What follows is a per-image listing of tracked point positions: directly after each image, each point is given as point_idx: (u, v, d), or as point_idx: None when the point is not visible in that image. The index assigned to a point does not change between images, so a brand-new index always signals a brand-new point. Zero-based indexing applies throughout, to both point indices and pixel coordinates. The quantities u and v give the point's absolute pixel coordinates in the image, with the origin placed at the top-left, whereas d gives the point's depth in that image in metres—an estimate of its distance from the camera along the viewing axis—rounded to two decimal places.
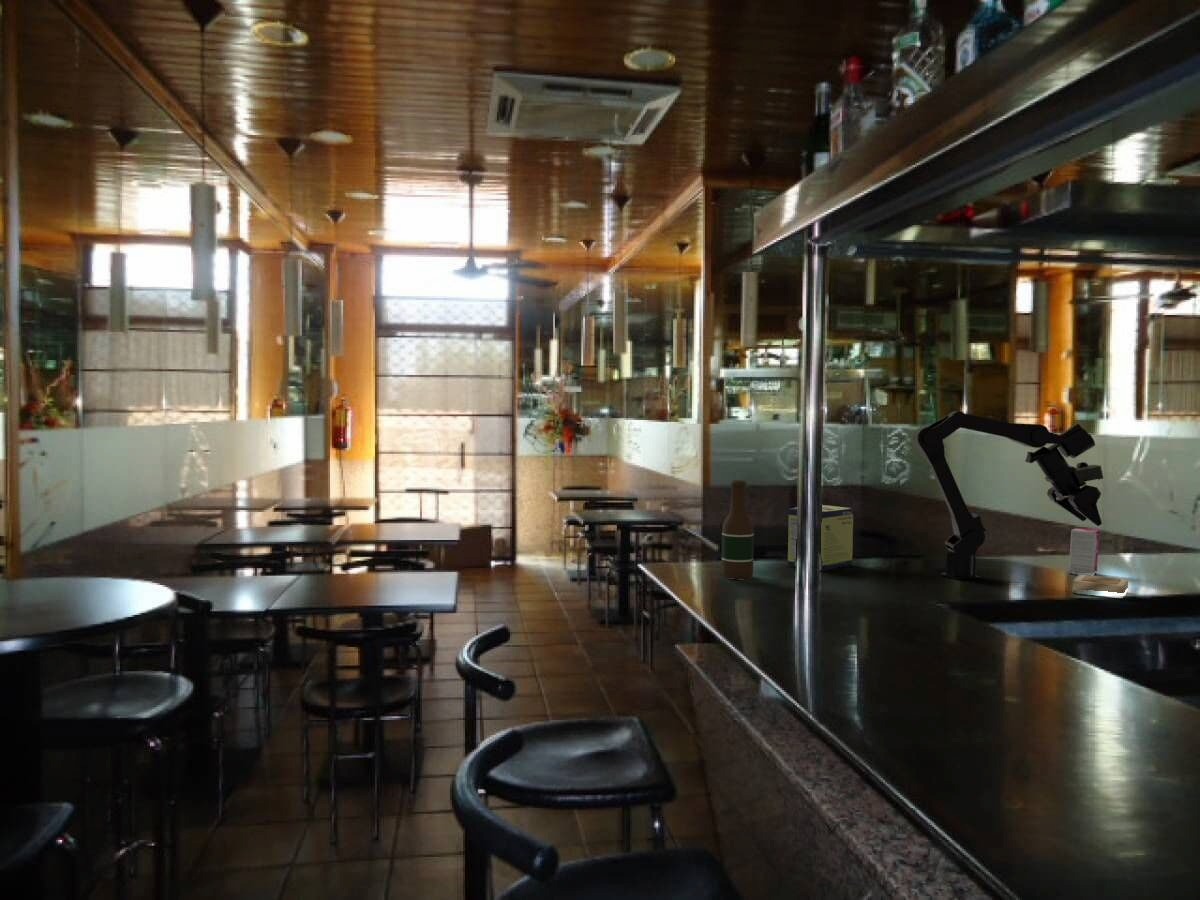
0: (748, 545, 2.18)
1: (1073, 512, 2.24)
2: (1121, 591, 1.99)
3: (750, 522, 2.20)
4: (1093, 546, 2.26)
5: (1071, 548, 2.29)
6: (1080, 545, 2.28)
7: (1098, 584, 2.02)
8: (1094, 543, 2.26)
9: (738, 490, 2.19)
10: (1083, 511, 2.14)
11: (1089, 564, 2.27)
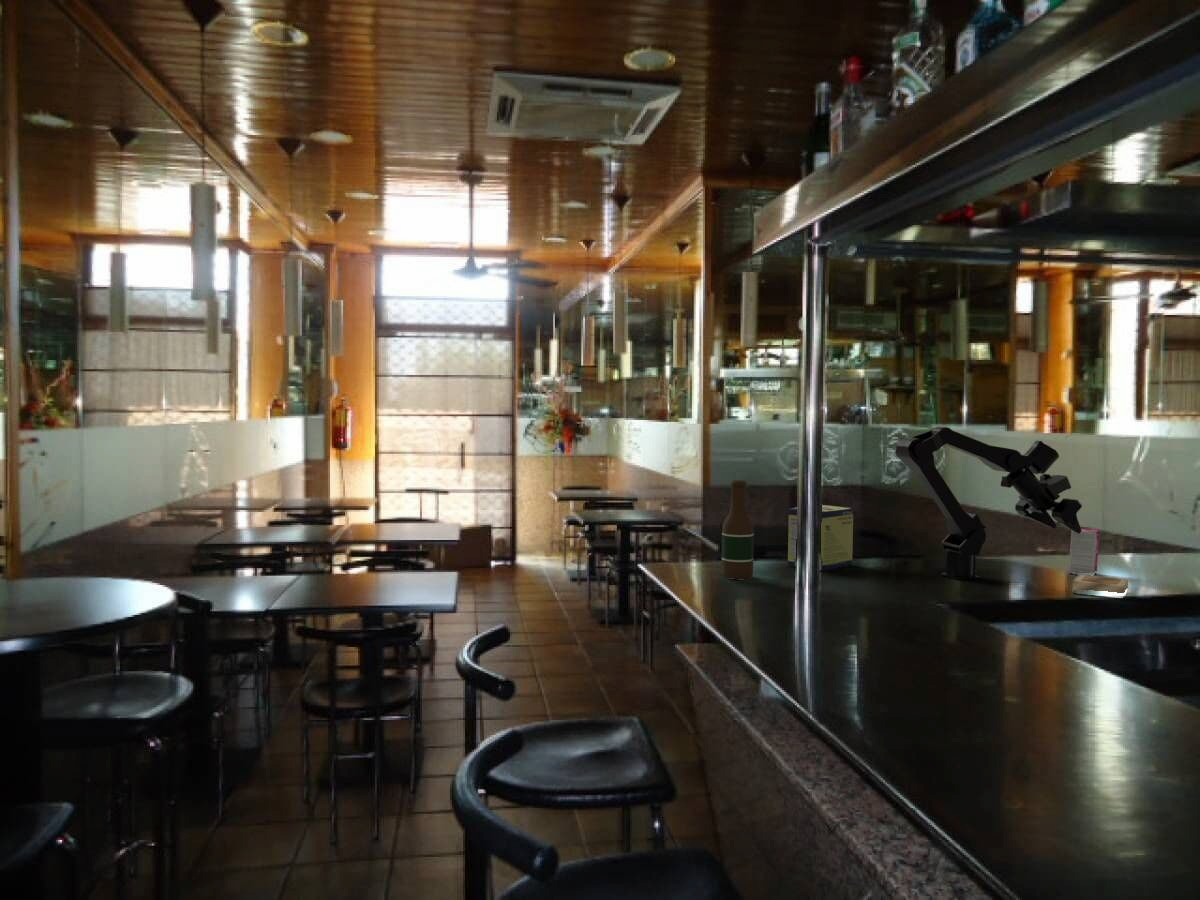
0: (748, 545, 2.18)
1: (1044, 522, 2.33)
2: (1121, 591, 1.99)
3: (750, 522, 2.20)
4: (1093, 546, 2.26)
5: (1071, 548, 2.29)
6: (1080, 545, 2.28)
7: (1098, 584, 2.02)
8: (1094, 543, 2.26)
9: (738, 490, 2.19)
10: (1067, 524, 2.22)
11: (1089, 564, 2.27)
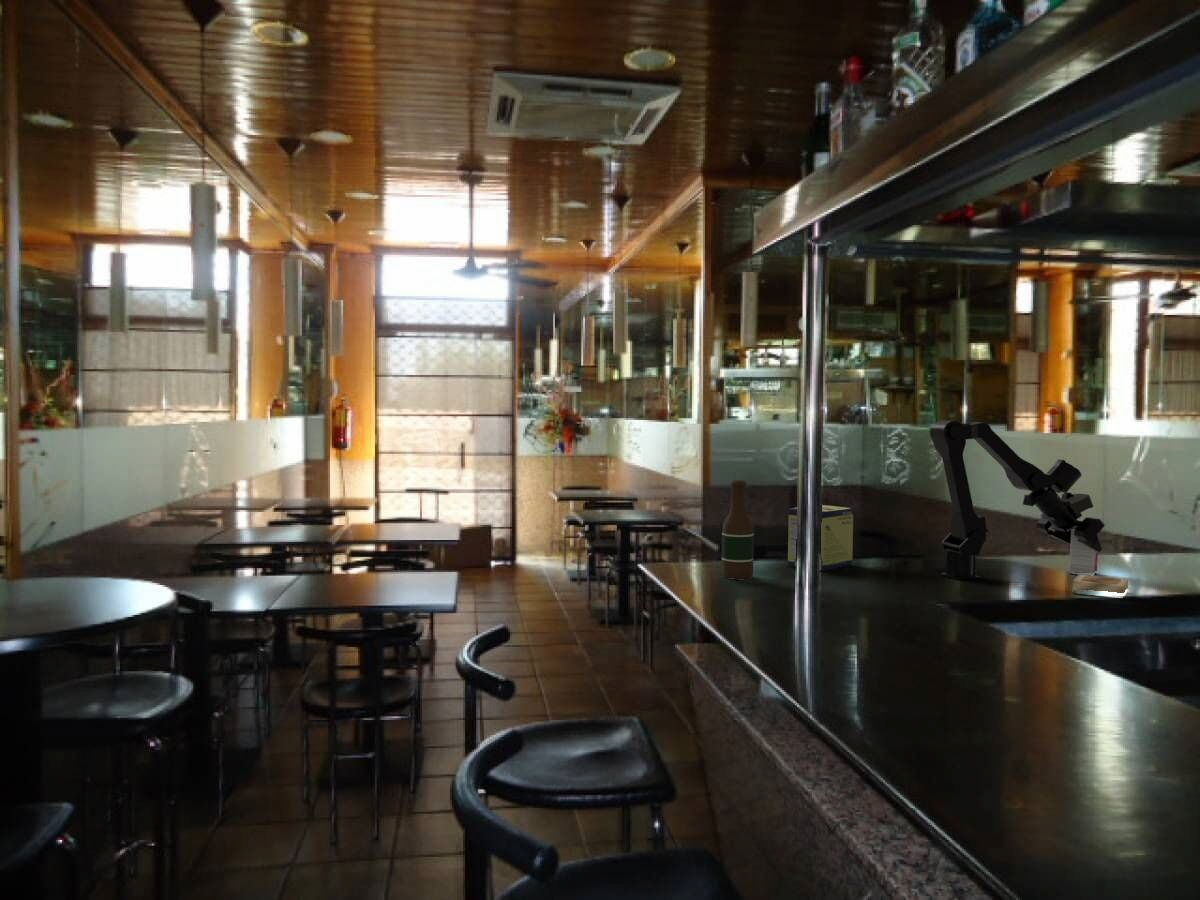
0: (747, 545, 2.18)
1: (1067, 541, 2.34)
2: (1121, 591, 1.99)
3: (750, 522, 2.20)
4: None
5: (1071, 548, 2.29)
6: (1080, 545, 2.28)
7: (1098, 584, 2.02)
8: None
9: (738, 490, 2.19)
10: (1088, 542, 2.23)
11: (1089, 564, 2.27)
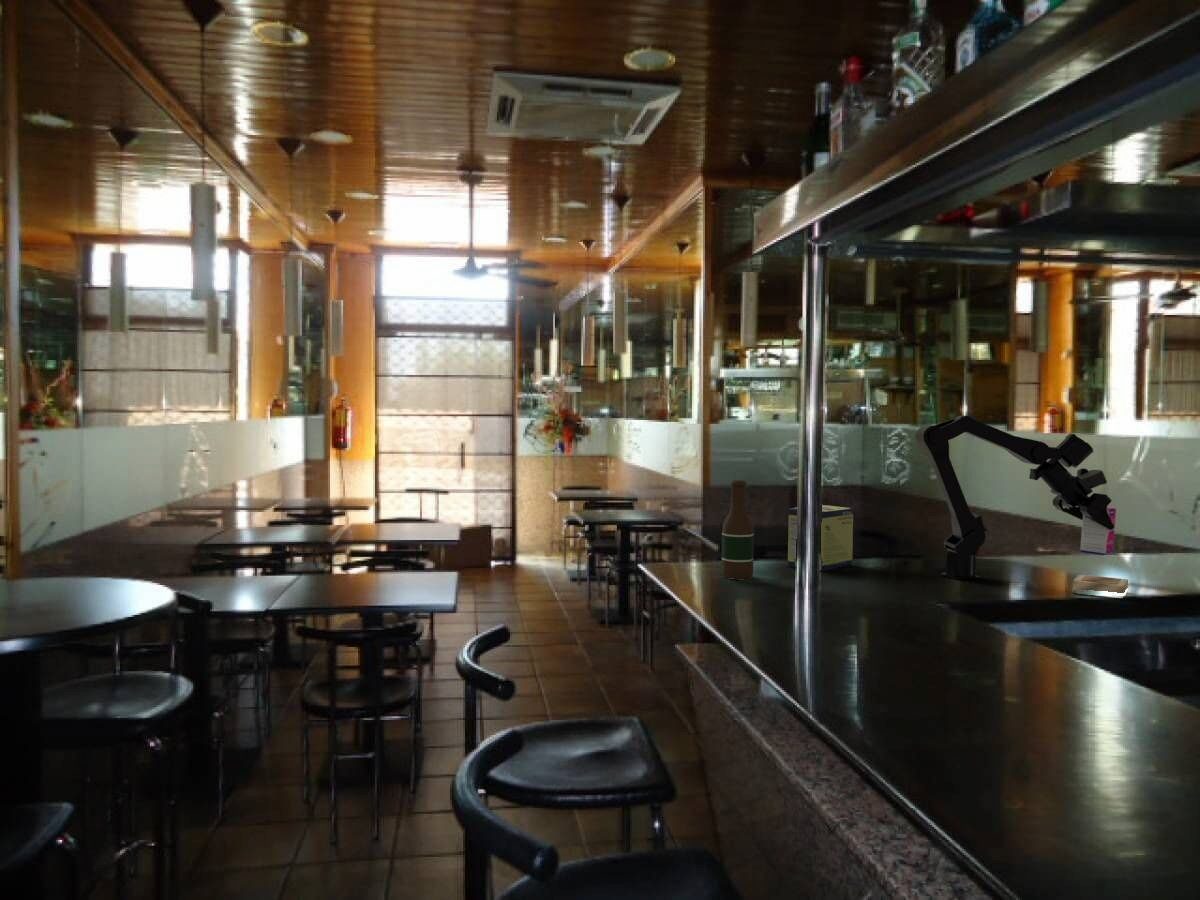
0: (747, 545, 2.18)
1: None
2: (1121, 591, 1.99)
3: (750, 522, 2.20)
4: None
5: (1083, 525, 2.22)
6: (1092, 523, 2.21)
7: (1098, 584, 2.02)
8: None
9: (738, 490, 2.19)
10: (1095, 519, 2.17)
11: (1100, 542, 2.19)
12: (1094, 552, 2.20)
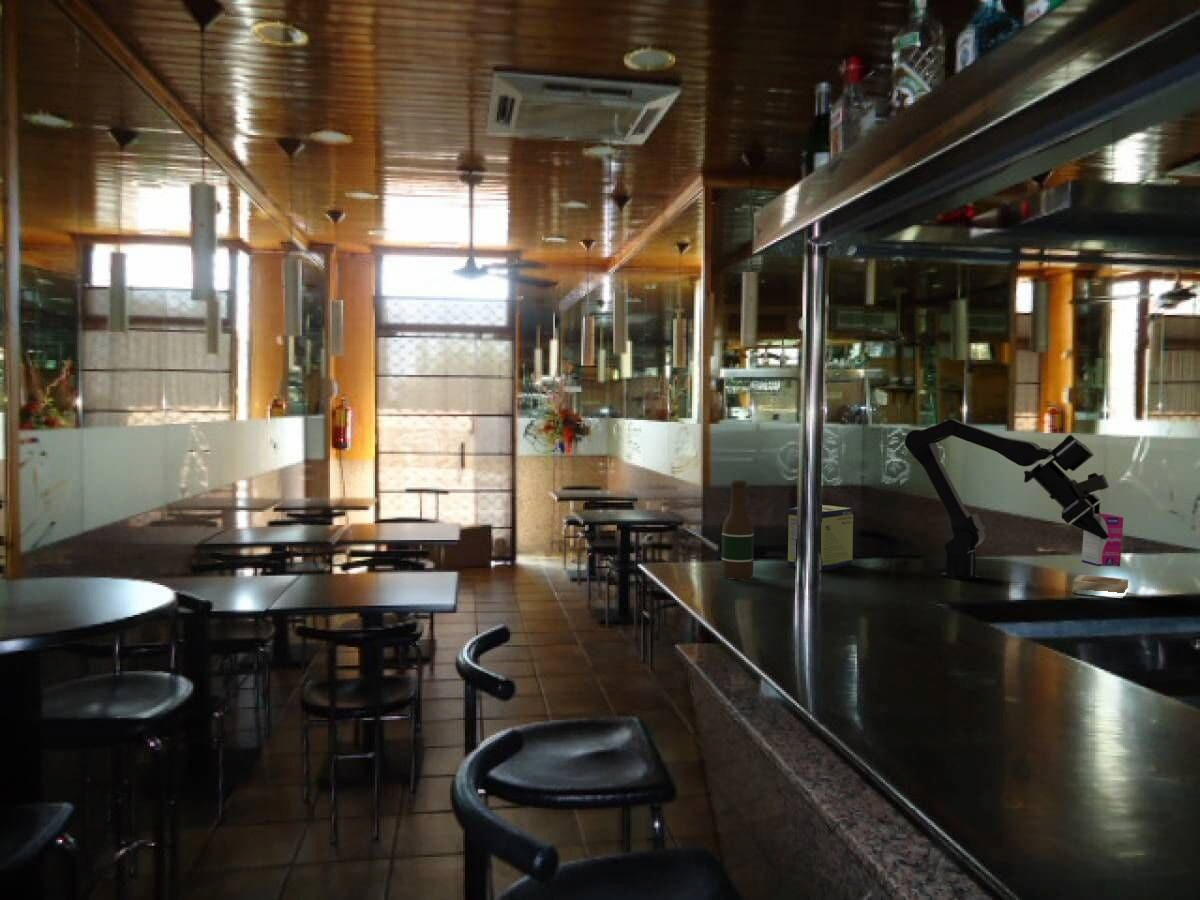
0: (748, 545, 2.18)
1: None
2: (1121, 591, 1.99)
3: (750, 522, 2.20)
4: None
5: (1084, 533, 2.08)
6: None
7: (1098, 584, 2.02)
8: None
9: (738, 490, 2.19)
10: (1081, 526, 2.03)
11: (1095, 552, 2.04)
12: (1091, 562, 2.05)
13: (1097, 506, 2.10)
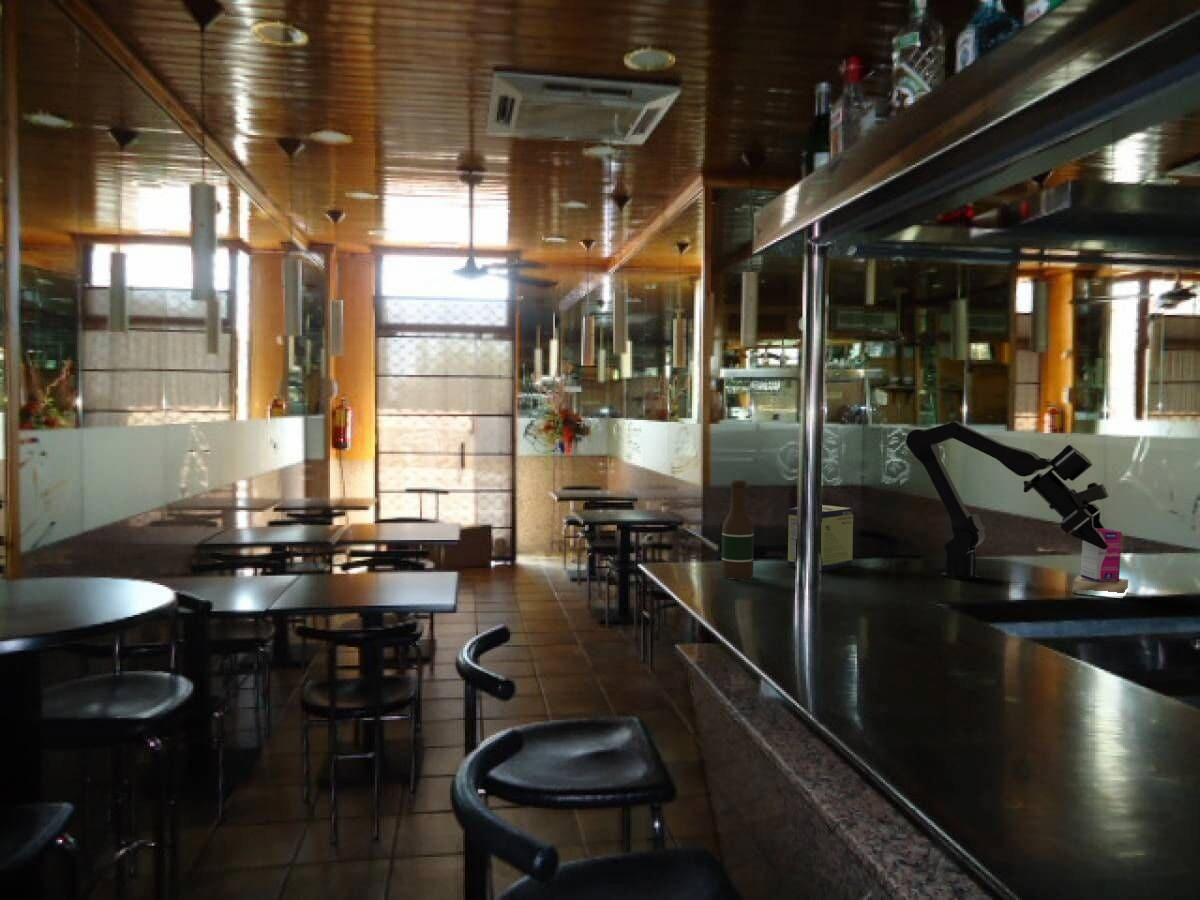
0: (747, 545, 2.18)
1: None
2: (1121, 591, 1.99)
3: (750, 522, 2.20)
4: (1097, 547, 2.03)
5: (1082, 548, 2.08)
6: (1088, 546, 2.06)
7: (1098, 584, 2.02)
8: None
9: (738, 490, 2.19)
10: (1080, 536, 2.03)
11: (1093, 567, 2.04)
12: (1089, 577, 2.05)
13: (1097, 515, 2.11)
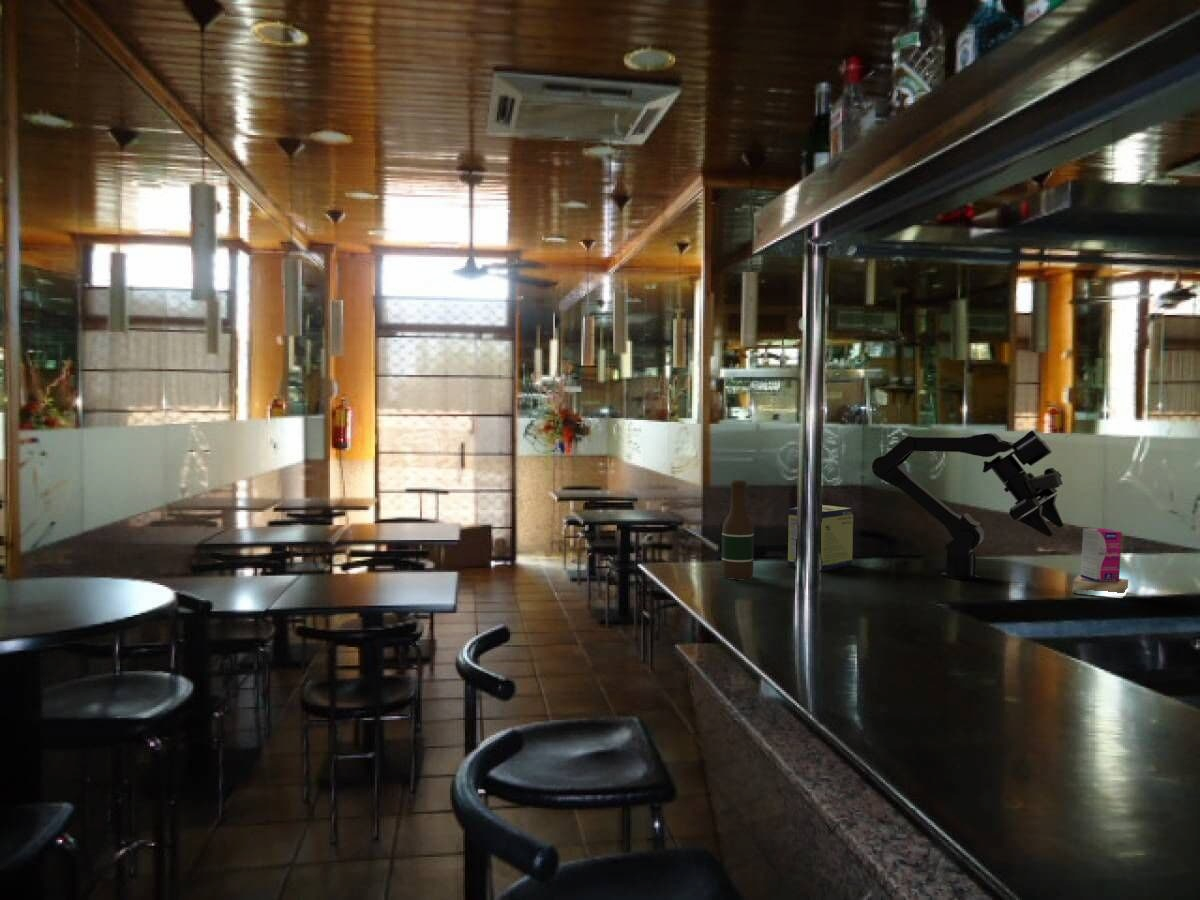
0: (748, 545, 2.18)
1: (1049, 518, 2.18)
2: (1121, 591, 1.99)
3: (750, 522, 2.20)
4: (1097, 547, 2.03)
5: (1082, 548, 2.08)
6: (1088, 546, 2.06)
7: (1098, 584, 2.02)
8: (1098, 544, 2.03)
9: (738, 490, 2.19)
10: (1027, 522, 2.11)
11: (1093, 567, 2.04)
12: (1089, 577, 2.05)
13: (1052, 499, 2.17)
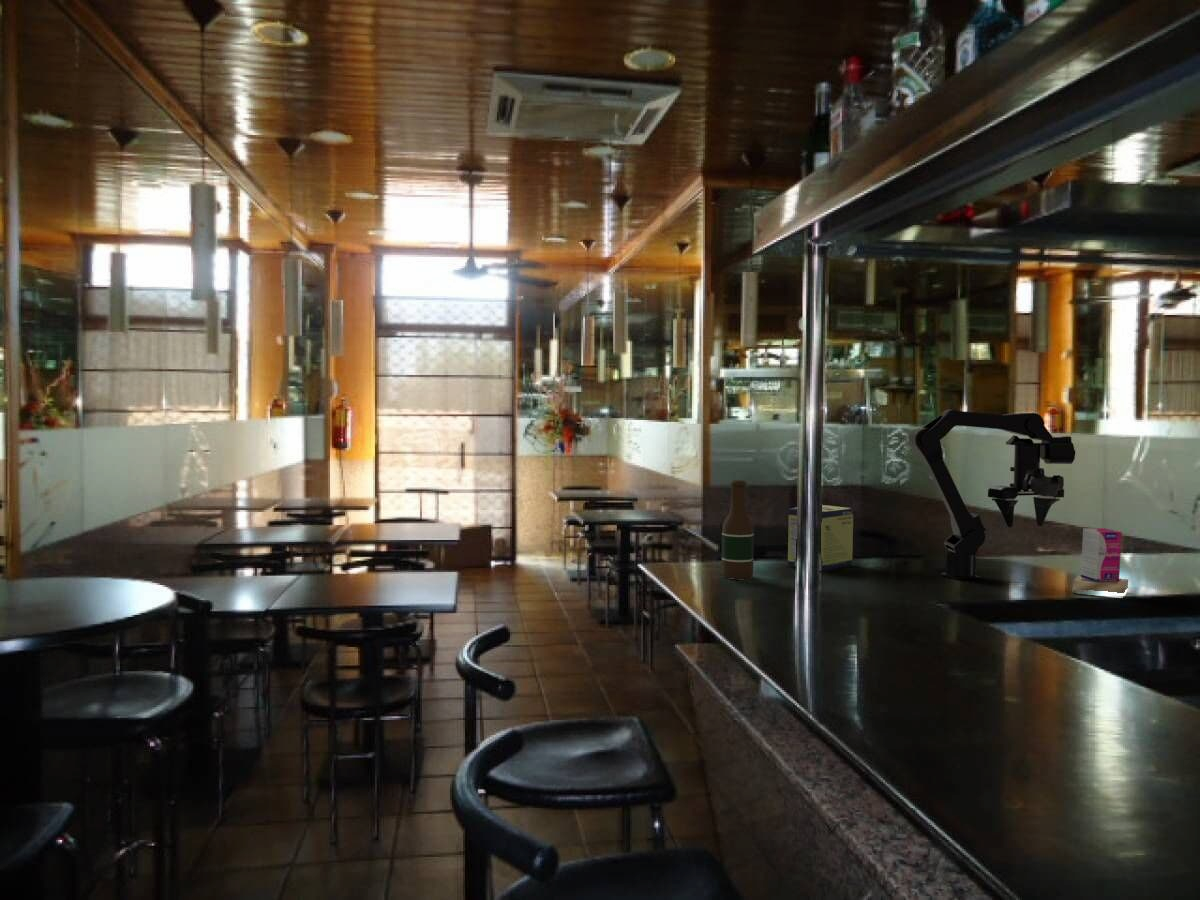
0: (748, 545, 2.18)
1: (1036, 513, 2.25)
2: (1121, 591, 1.99)
3: (750, 522, 2.20)
4: (1097, 547, 2.03)
5: (1082, 548, 2.08)
6: (1088, 546, 2.06)
7: (1098, 584, 2.02)
8: (1098, 544, 2.03)
9: (738, 490, 2.19)
10: (999, 505, 2.22)
11: (1093, 567, 2.04)
12: (1089, 577, 2.05)
13: (1049, 500, 2.22)
